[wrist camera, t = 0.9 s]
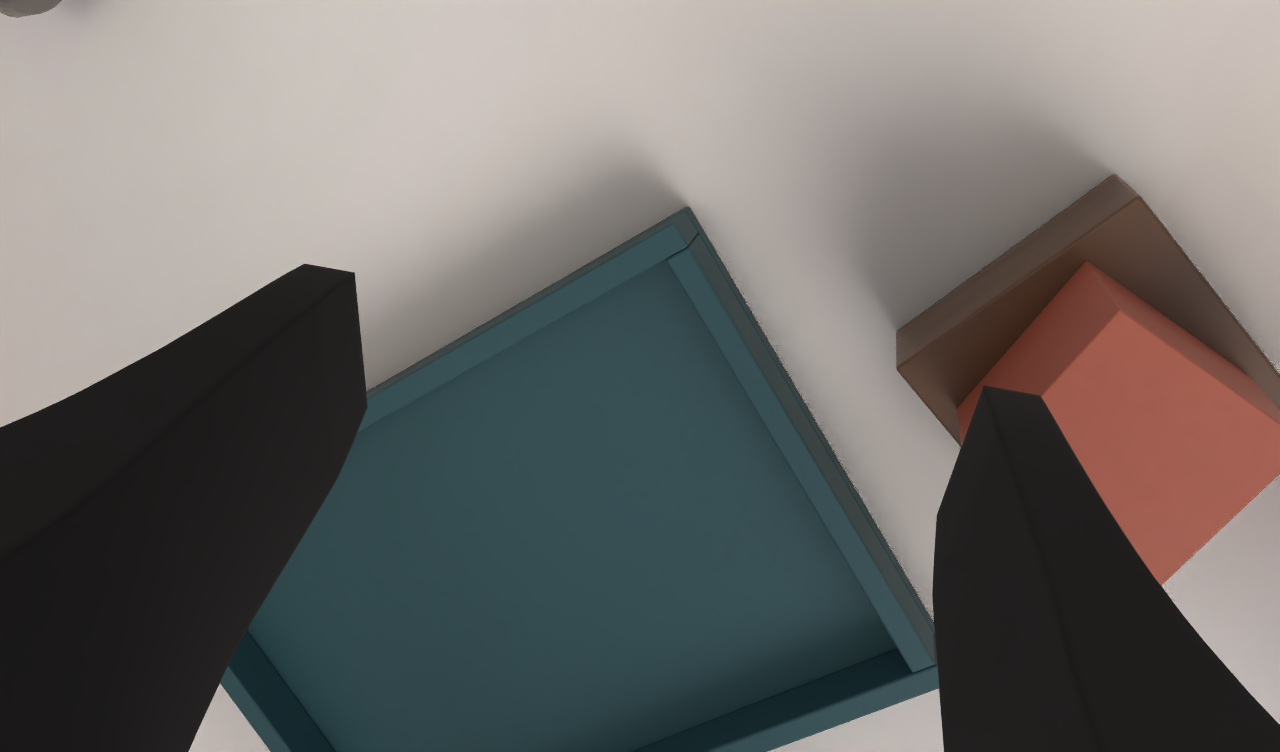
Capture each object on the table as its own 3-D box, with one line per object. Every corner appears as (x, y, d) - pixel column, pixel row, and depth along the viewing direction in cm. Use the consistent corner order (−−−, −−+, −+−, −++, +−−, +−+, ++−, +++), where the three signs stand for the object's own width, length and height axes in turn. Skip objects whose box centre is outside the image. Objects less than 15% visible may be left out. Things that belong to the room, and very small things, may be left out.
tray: (945, 641, 32) (948, 686, 30) (403, 848, 39) (376, 897, 37) (689, 204, 29) (673, 222, 27) (158, 511, 36) (115, 543, 34)
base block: (1272, 375, 28) (1314, 419, 25) (1046, 513, 30) (1061, 568, 27) (1114, 172, 27) (1139, 194, 24) (894, 331, 29) (894, 368, 27)
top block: (1250, 376, 25) (1311, 445, 21) (1109, 517, 27) (1143, 603, 23) (1086, 259, 25) (1119, 308, 21) (955, 409, 27) (964, 478, 23)
